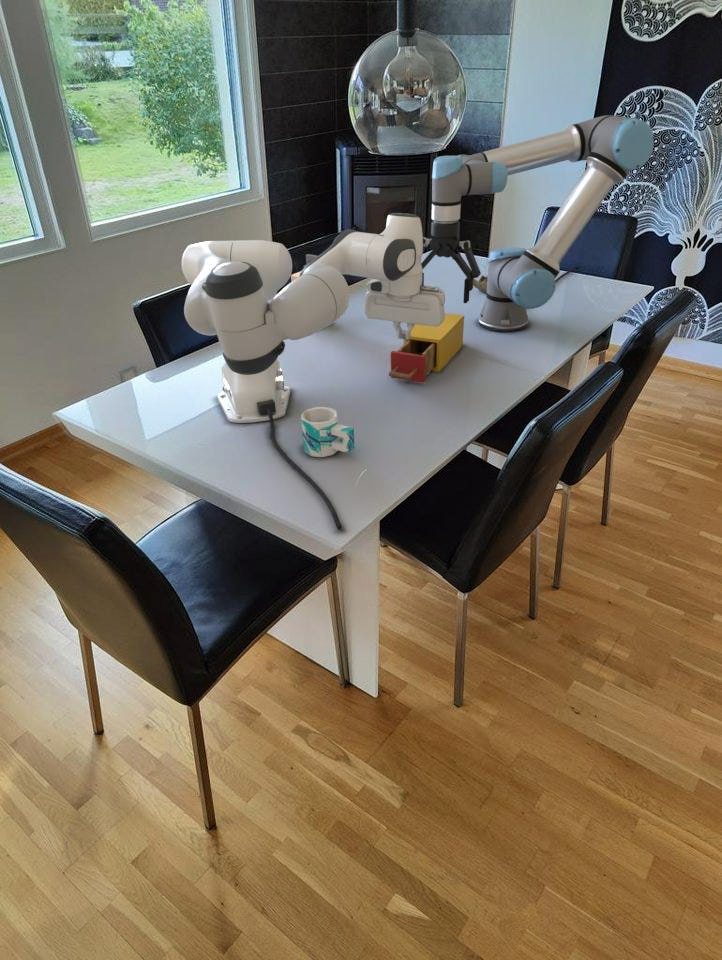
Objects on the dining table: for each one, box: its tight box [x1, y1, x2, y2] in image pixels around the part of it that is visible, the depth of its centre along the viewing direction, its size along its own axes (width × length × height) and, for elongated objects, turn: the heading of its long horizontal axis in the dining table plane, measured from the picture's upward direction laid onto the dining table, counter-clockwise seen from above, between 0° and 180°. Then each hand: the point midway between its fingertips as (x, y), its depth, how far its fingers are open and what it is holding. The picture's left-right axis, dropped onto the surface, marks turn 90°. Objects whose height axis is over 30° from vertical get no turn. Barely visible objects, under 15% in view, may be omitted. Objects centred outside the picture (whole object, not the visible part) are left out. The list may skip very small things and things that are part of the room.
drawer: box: [388, 339, 437, 384], centre depth 180 cm, size 25×9×7 cm, turn 155°
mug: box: [300, 406, 356, 458], centre depth 147 cm, size 8×12×8 cm
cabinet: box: [402, 312, 465, 373], centre depth 190 cm, size 21×11×9 cm, turn 155°
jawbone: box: [473, 274, 488, 293], centre depth 238 cm, size 9×15×10 cm
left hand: (404, 338), depth 168 cm, fingers closed
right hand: (443, 299), depth 190 cm, fingers open, 13 cm apart
